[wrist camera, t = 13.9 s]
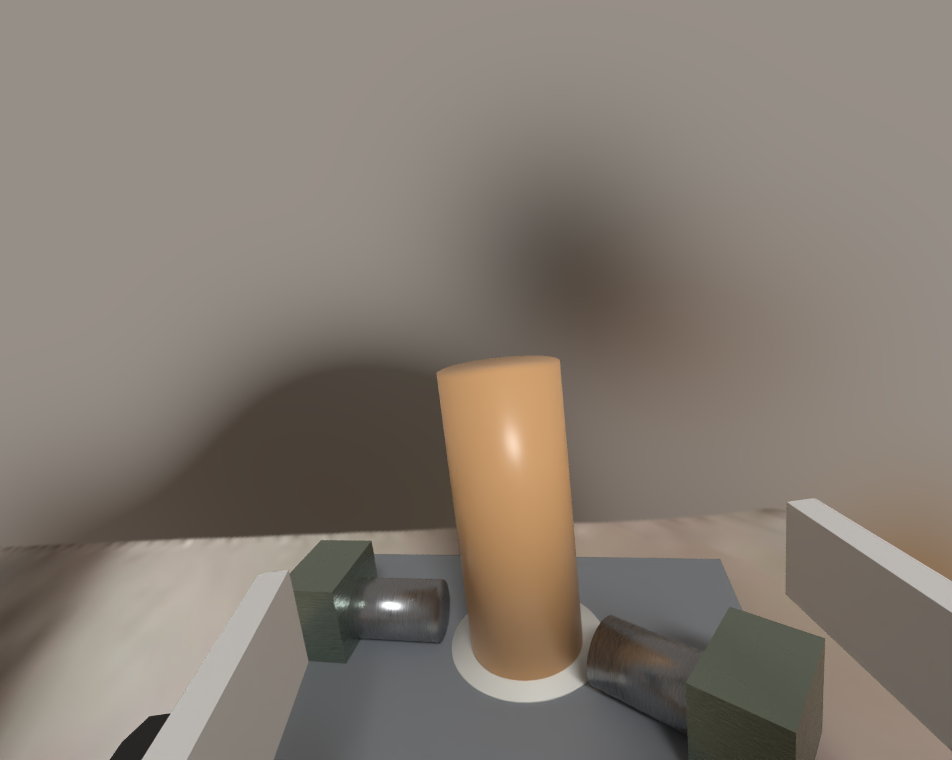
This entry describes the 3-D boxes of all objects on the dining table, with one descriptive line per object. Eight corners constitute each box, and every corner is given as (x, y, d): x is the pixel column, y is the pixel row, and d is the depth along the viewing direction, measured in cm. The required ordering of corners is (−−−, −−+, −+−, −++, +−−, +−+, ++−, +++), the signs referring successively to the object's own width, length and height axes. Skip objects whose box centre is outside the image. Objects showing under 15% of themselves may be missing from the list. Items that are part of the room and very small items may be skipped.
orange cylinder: (459, 675, 22) (419, 383, 20) (484, 601, 27) (454, 360, 25) (581, 685, 21) (554, 374, 18) (584, 605, 26) (563, 352, 23)
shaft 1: (289, 659, 24) (273, 590, 24) (333, 601, 29) (321, 540, 28) (432, 669, 23) (420, 595, 22) (456, 605, 27) (447, 541, 26)
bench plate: (211, 770, 20) (205, 748, 20) (360, 567, 34) (358, 552, 33) (835, 852, 15) (836, 823, 15) (720, 575, 29) (719, 557, 28)
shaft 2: (578, 715, 20) (571, 630, 19) (629, 647, 23) (625, 571, 22) (793, 840, 15) (796, 733, 14) (822, 731, 18) (824, 638, 17)
